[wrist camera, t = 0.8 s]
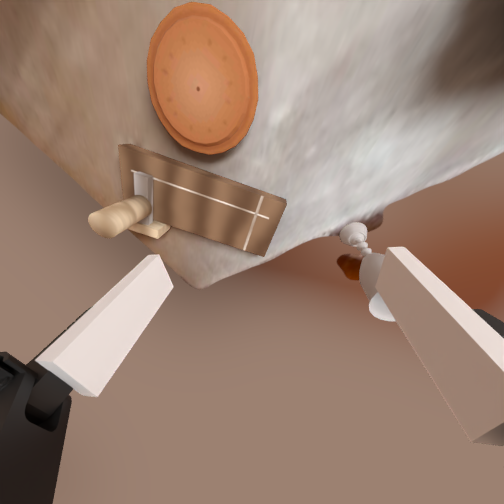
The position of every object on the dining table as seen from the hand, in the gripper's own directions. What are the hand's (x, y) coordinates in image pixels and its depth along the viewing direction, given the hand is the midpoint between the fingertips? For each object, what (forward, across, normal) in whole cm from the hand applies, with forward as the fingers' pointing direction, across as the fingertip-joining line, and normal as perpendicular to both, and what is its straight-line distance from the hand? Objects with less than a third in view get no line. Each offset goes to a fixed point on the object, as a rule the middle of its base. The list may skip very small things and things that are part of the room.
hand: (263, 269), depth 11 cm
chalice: (+27, +15, -12) cm, 33 cm away
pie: (+27, -9, +13) cm, 31 cm away
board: (+27, -14, -3) cm, 30 cm away
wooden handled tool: (+26, -24, -2) cm, 36 cm away
